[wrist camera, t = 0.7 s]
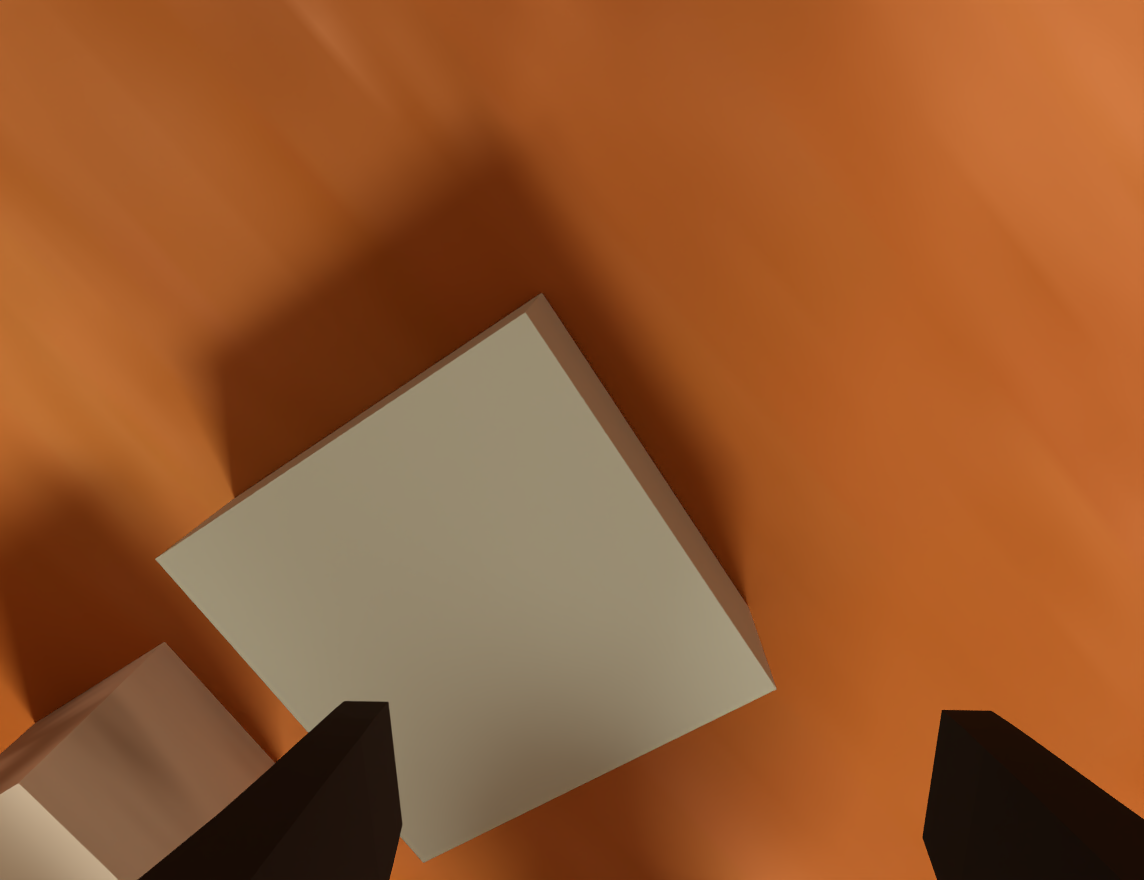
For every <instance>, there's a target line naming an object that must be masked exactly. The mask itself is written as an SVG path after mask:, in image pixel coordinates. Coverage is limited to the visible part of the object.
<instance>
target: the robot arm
mask: <svg viewBox="0 0 1144 880" xmlns="http://www.w3.org/2000/svg"><path fill="white" fill-rule="evenodd" d="M402 825H403V824H402V815H401V807H400V798H399V789H398V780H397V772H396V763H395V754H394V745H393V737H392V728H391V719H390V710H389V702H381V701H343V702H342V703H341V704H340V705H339V706H338V707H336V708H335V709H334V710H333V711H332V712H331V713H330V714H329V715H327V716H326V717H325V718H324V719H323V720H322V721H321V722H320V723H319V724H318V725H316V726H315V727H314V728H313V729H312V730H311V731H310V732H309V733H308V734H307V735H306V736H304V737H303V738H302V739H301V740H300V741H299V742H298V743H297V744H296V745H295V746H294V747H292V748H291V749H290V750H289V751H288V752H287V753H286V754H285V755H284V756H283V757H281V758H280V759H279V760H278V761H277V762H276V763H275V764H274V765H273V766H272V767H270V768H269V769H268V770H267V771H266V772H265V773H264V774H263V775H261V776H260V777H259V778H258V779H257V780H256V781H255V782H254V783H252V784H251V785H250V786H249V787H248V788H247V789H246V790H245V791H243V792H242V793H241V794H240V795H239V796H238V797H237V798H236V799H234V800H233V801H232V802H231V803H230V804H229V805H228V806H226V807H225V808H224V809H223V810H222V811H221V812H220V813H218V814H217V815H216V816H215V817H214V818H212V819H211V820H210V821H209V822H207V823H206V824H205V825H204V826H203V827H201V828H200V829H199V830H198V831H196V832H195V833H194V834H193V835H192V836H190V837H189V838H188V839H187V840H185V841H184V842H183V843H182V844H181V845H179V846H178V847H177V848H176V849H174V850H173V851H172V852H171V853H170V854H168V855H167V856H166V857H165V858H163V859H162V860H161V861H160V862H159V863H157V864H156V865H155V866H154V867H152V868H151V869H150V870H149V871H148V872H146V873H145V874H144V875H143V876H141V877H140V878H139V879H138V880H389V879H390V875H391V871H392V867H393V863H394V858H395V854H396V850H397V846H398V842H399V837H400V833H401V829H402ZM923 840H924V843H925V846H926V849H927V852H928V855H929V858H930V860H931V863H932V866H933V869H934V872H935V875H936V878H937V880H1144V819H1143V818H1141V817H1140V816H1138V815H1137V814H1136V813H1134V812H1133V811H1131V810H1130V809H1129V808H1127V807H1126V806H1124V805H1123V804H1122V803H1120V802H1119V801H1117V800H1116V799H1115V798H1113V797H1112V796H1110V795H1109V794H1108V793H1106V792H1105V791H1104V790H1102V789H1101V788H1099V787H1098V786H1097V785H1095V784H1094V783H1093V782H1091V781H1090V780H1088V779H1087V778H1086V777H1084V776H1083V775H1082V774H1080V773H1079V772H1077V771H1076V770H1075V769H1073V768H1072V767H1071V766H1069V765H1068V764H1066V763H1065V762H1064V761H1062V760H1061V759H1060V758H1058V757H1057V756H1055V755H1054V754H1053V753H1051V752H1050V751H1048V750H1047V749H1046V748H1044V747H1043V746H1042V745H1040V744H1039V743H1037V742H1036V741H1035V740H1033V739H1032V738H1030V737H1029V736H1028V735H1026V734H1025V733H1023V732H1022V731H1021V730H1019V729H1018V728H1016V727H1015V726H1013V725H1012V724H1010V723H1009V722H1008V721H1006V720H1005V719H1003V718H1001V717H1000V716H998V715H997V714H995V713H994V712H992V711H970V710H942V713H941V720H940V726H939V733H938V739H937V746H936V752H935V759H934V765H933V772H932V778H931V785H930V792H929V798H928V805H927V811H926V818H925V824H924V831H923Z"/></svg>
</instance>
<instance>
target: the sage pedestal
mask: <svg viewBox="0 0 1144 880" xmlns="http://www.w3.org/2000/svg"><path fill="white" fill-rule="evenodd" d="M156 561H157V562H158V563H159V564H160V565H161V566H162V567H163V568H164V570H165V571H166V572H167V573H168V574H169V575H170V576H171V578H172V579H173V580H174V581H175V582H176V583H177V584H178V585H179V587H180V588H181V589H182V590H183V591H184V592H185V593H186V595H187V596H188V597H189V598H190V599H191V600H192V601H193V602H194V604H195V605H196V606H197V607H198V608H199V609H200V610H201V611H202V613H203V614H204V615H205V616H206V617H207V618H208V619H209V621H210V622H211V623H212V624H213V625H214V626H215V627H216V628H217V630H218V631H219V632H220V633H221V634H222V635H223V636H224V638H225V639H226V640H227V641H228V642H229V643H230V644H231V645H232V647H233V648H234V649H235V650H236V651H237V652H238V653H239V655H240V656H241V657H242V658H243V659H244V660H245V661H246V662H247V664H248V665H249V666H250V667H251V668H252V669H253V670H254V671H255V673H256V674H257V675H258V676H259V677H260V678H261V679H262V681H263V682H264V683H265V684H266V685H267V686H268V687H269V688H270V690H271V691H272V692H273V693H274V694H275V695H276V696H277V698H278V699H279V700H280V701H281V702H282V703H283V704H284V705H285V707H286V708H287V709H288V710H289V711H290V712H291V713H292V715H293V716H294V717H295V718H296V719H297V720H298V721H299V722H300V724H301V725H302V726H303V727H304V728H305V729H306V730H307V731H308V733H309V732H310V731H311V730H312V729H313V728H314V727H315V726H316V725H318V724H319V723H320V722H321V721H322V720H323V719H324V718H325V717H326V716H327V715H329V714H330V713H331V712H332V711H333V710H334V709H335V708H336V707H338V706H339V705H340V704H341V703H342V702H343V701H381V702H389V710H390V719H391V728H392V737H393V745H394V754H395V763H396V772H397V780H398V789H399V798H400V807H401V815H402V824H403V825H402V829H401V833H400V837H401V838H402V839H403V840H404V841H405V842H406V844H407V845H408V846H409V847H410V848H411V849H412V850H413V851H414V853H415V854H416V855H417V856H418V857H419V858H420V859H421V861H422V862H423V863H424V862H426V861H428V860H430V859H432V858H434V857H436V856H438V855H440V854H442V853H444V852H446V851H448V850H450V849H452V848H454V847H456V846H458V845H461V844H463V843H465V842H467V841H469V840H471V839H473V838H475V837H477V836H479V835H481V834H483V833H485V832H487V831H489V830H491V829H493V828H495V827H497V826H499V825H501V824H503V823H505V822H507V821H509V820H511V819H513V818H515V817H517V816H519V815H522V814H524V813H526V812H528V811H530V810H532V809H534V808H536V807H538V806H540V805H542V804H544V803H546V802H548V801H550V800H552V799H554V798H556V797H558V796H560V795H562V794H564V793H566V792H568V791H570V790H572V789H574V788H576V787H578V786H580V785H583V784H585V783H587V782H589V781H591V780H593V779H595V778H597V777H599V776H601V775H603V774H605V773H607V772H609V771H611V770H613V769H615V768H617V767H619V766H621V765H623V764H625V763H627V762H629V761H631V760H633V759H635V758H637V757H639V756H641V755H644V754H646V753H648V752H650V751H652V750H654V749H656V748H658V747H660V746H662V745H664V744H666V743H668V742H670V741H672V740H674V739H676V738H678V737H680V736H682V735H684V734H686V733H688V732H690V731H692V730H694V729H696V728H698V727H700V726H702V725H705V724H707V723H709V722H711V721H713V720H715V719H717V718H719V717H721V716H723V715H725V714H727V713H729V712H731V711H733V710H735V709H737V708H739V707H741V706H743V705H745V704H747V703H749V702H751V701H753V700H755V699H757V698H759V697H761V696H764V695H766V694H768V693H770V692H772V691H774V690H776V686H775V683H774V680H773V677H772V674H771V671H770V668H769V665H768V662H767V659H766V657H765V654H764V651H763V648H762V645H761V642H760V639H759V636H758V633H757V630H756V627H755V624H754V622H753V619H752V616H751V613H750V610H749V607H748V606H747V604H746V603H745V601H744V600H743V598H742V597H741V595H740V594H739V592H738V590H737V589H736V587H735V586H734V584H733V583H732V581H731V580H730V578H729V577H728V575H727V574H726V572H725V571H724V569H723V568H722V566H721V565H720V563H719V562H718V560H717V558H716V557H715V555H714V554H713V552H712V551H711V549H710V548H709V546H708V545H707V543H706V542H705V540H704V539H703V537H702V536H701V534H700V533H699V531H698V530H697V528H696V526H695V525H694V523H693V522H692V520H691V519H690V517H689V516H688V514H687V513H686V511H685V510H684V508H683V507H682V505H681V504H680V502H679V501H678V499H677V498H676V496H675V494H674V493H673V491H672V490H671V488H670V487H669V485H668V484H667V482H666V481H665V479H664V478H663V476H662V475H661V473H660V472H659V470H658V469H657V467H656V465H655V464H654V462H653V461H652V459H651V458H650V456H649V455H648V453H647V452H646V450H645V449H644V447H643V446H642V444H641V443H640V441H639V440H638V438H637V437H636V435H635V433H634V432H633V430H632V429H631V427H630V426H629V424H628V423H627V421H626V420H625V418H624V417H623V415H622V414H621V412H620V411H619V409H618V408H617V406H616V405H615V403H614V401H613V400H612V398H611V397H610V395H609V394H608V392H607V391H606V389H605V388H604V386H603V385H602V383H601V382H600V380H599V379H598V377H597V376H596V374H595V373H594V371H593V369H592V368H591V366H590V365H589V363H588V362H587V360H586V359H585V357H584V356H583V354H582V353H581V351H580V350H579V348H578V347H577V345H576V344H575V342H574V341H573V339H572V337H571V336H570V334H569V333H568V331H567V330H566V328H565V327H564V325H563V324H562V322H561V321H560V319H559V318H558V316H557V315H556V313H555V312H554V310H553V309H552V307H551V305H550V304H549V302H548V301H547V299H546V298H545V296H544V295H543V293H540V294H539V295H537V296H536V297H534V298H533V299H531V300H530V301H528V302H527V303H525V304H524V305H522V306H521V307H519V308H518V309H516V310H515V311H513V312H512V313H510V314H509V315H508V316H506V317H505V318H503V319H502V320H500V321H499V322H497V323H496V324H494V325H493V326H491V327H490V328H488V329H487V330H485V331H484V332H482V333H481V334H479V335H478V336H476V337H475V338H473V339H472V340H470V341H469V342H467V343H466V344H464V345H463V346H461V347H460V348H458V349H457V350H455V351H454V352H452V353H451V354H449V355H448V356H446V357H445V358H443V359H442V360H440V361H439V362H437V363H436V364H434V365H433V366H431V367H430V368H428V369H427V370H425V371H424V372H422V373H421V374H419V375H418V376H416V377H415V378H413V379H412V380H410V381H409V382H407V383H406V384H404V385H403V386H401V387H400V388H398V389H397V390H395V391H394V392H392V393H391V394H389V395H388V396H386V397H385V398H384V399H382V400H381V401H379V402H378V403H376V404H375V405H373V406H372V407H370V408H369V409H367V410H366V411H364V412H363V413H361V414H360V415H358V416H357V417H355V418H354V419H352V420H351V421H349V422H348V423H346V424H345V425H343V426H342V427H340V428H339V429H337V430H336V431H334V432H333V433H331V434H330V435H328V436H327V437H325V438H324V439H322V440H321V441H319V442H318V443H316V444H315V445H313V446H312V447H310V448H309V449H307V450H306V451H304V452H303V453H301V454H300V455H298V456H297V457H295V458H294V459H292V460H291V461H289V462H288V463H286V464H285V465H283V466H282V467H280V468H279V469H277V470H276V471H274V472H273V473H271V474H270V475H268V476H267V477H265V478H264V479H263V480H261V481H260V482H258V483H257V484H255V485H254V486H252V487H251V488H249V489H248V490H246V491H245V492H243V493H242V494H240V495H239V496H237V497H236V498H234V499H233V500H231V501H230V502H229V503H228V504H226V505H225V506H224V507H222V508H221V509H220V510H218V511H217V512H216V513H214V514H213V515H212V516H211V517H209V518H208V519H207V520H205V521H204V522H203V523H201V524H200V525H199V526H198V527H196V528H195V529H194V530H192V531H191V532H190V533H188V534H187V535H186V536H184V537H183V538H182V539H181V540H179V541H178V542H177V543H175V544H174V545H173V546H171V547H170V548H169V549H168V550H166V551H165V552H164V553H162V554H161V555H160V556H158V557H157V558H156Z"/></svg>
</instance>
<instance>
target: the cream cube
mask: <svg viewBox="0 0 1144 880" xmlns="http://www.w3.org/2000/svg"><path fill="white" fill-rule="evenodd" d="M274 764H275V762H274V761H273V760H272V759H271V758H270V757H269V756H268V755H267V754H266V753H265V751H264V750H263V749H262V748H261V747H260V746H259V745H258V744H257V743H256V742H255V740H254V739H253V738H252V737H251V736H250V735H249V734H248V733H247V732H246V731H245V729H244V728H243V727H242V726H241V725H240V724H239V723H238V722H237V721H236V720H235V718H234V717H233V716H232V715H231V714H230V713H229V712H228V711H227V710H226V709H225V707H224V706H223V705H222V704H221V703H220V702H219V701H218V700H217V699H216V698H215V696H214V695H213V694H212V693H211V692H210V691H209V690H208V689H207V688H206V687H205V685H204V684H203V683H202V682H201V681H200V680H199V679H198V678H197V677H196V676H195V674H194V673H193V672H192V671H191V670H190V669H189V668H188V667H187V666H186V665H185V663H184V662H183V661H182V660H181V659H180V658H179V657H178V656H177V655H176V654H175V652H174V651H173V650H172V649H171V648H170V647H169V646H168V645H167V644H166V643H165V642H163V643H162V644H160V645H158V646H157V647H155V648H154V649H152V650H150V651H149V652H147V653H146V654H144V655H142V656H141V657H139V658H138V659H136V660H135V661H133V662H131V663H130V664H128V665H127V666H125V667H123V668H122V669H120V670H119V671H117V672H116V673H114V674H112V675H111V676H109V677H108V678H106V679H104V680H103V681H101V682H100V683H98V684H96V685H95V686H93V687H92V688H90V689H89V690H87V691H85V692H84V693H82V694H81V695H79V696H77V697H76V698H74V699H73V700H71V701H69V702H68V703H66V704H65V705H63V706H62V707H60V708H58V709H57V710H55V711H54V712H52V713H50V714H49V715H47V716H46V717H44V718H42V719H41V720H39V721H38V722H36V723H35V724H34V725H32V726H31V727H30V728H29V729H28V730H27V731H26V732H25V733H23V734H22V735H21V736H20V737H19V738H18V739H17V740H16V741H15V742H13V743H12V744H11V745H10V746H9V747H8V748H7V749H6V750H4V751H3V752H2V753H1V754H0V880H138V879H139V878H140V877H141V876H143V875H144V874H145V873H146V872H148V871H149V870H150V869H151V868H152V867H154V866H155V865H156V864H157V863H159V862H160V861H161V860H162V859H163V858H165V857H166V856H167V855H168V854H170V853H171V852H172V851H173V850H174V849H176V848H177V847H178V846H179V845H181V844H182V843H183V842H184V841H185V840H187V839H188V838H189V837H190V836H192V835H193V834H194V833H195V832H196V831H198V830H199V829H200V828H201V827H203V826H204V825H205V824H206V823H207V822H209V821H210V820H211V819H212V818H214V817H215V816H216V815H217V814H218V813H220V812H221V811H222V810H223V809H224V808H225V807H226V806H228V805H229V804H230V803H231V802H232V801H233V800H234V799H236V798H237V797H238V796H239V795H240V794H241V793H242V792H243V791H245V790H246V789H247V788H248V787H249V786H250V785H251V784H252V783H254V782H255V781H256V780H257V779H258V778H259V777H260V776H261V775H263V774H264V773H265V772H266V771H267V770H268V769H269V768H270V767H272V766H273V765H274Z"/></svg>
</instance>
